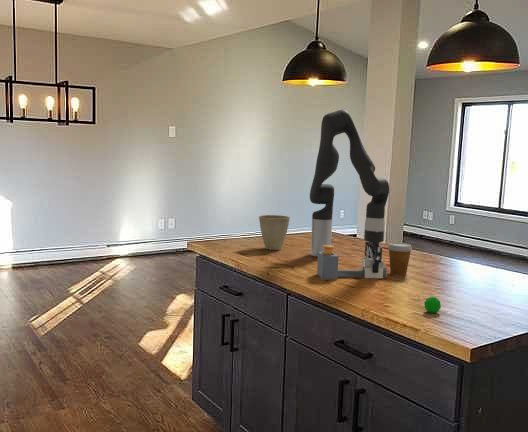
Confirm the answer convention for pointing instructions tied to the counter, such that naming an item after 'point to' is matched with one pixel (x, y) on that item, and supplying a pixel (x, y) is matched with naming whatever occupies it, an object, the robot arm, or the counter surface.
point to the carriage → (368, 265)
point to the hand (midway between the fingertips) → (372, 270)
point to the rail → (356, 273)
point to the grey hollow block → (327, 266)
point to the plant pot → (273, 230)
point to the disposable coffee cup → (399, 258)
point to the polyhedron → (432, 305)
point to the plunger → (328, 249)
